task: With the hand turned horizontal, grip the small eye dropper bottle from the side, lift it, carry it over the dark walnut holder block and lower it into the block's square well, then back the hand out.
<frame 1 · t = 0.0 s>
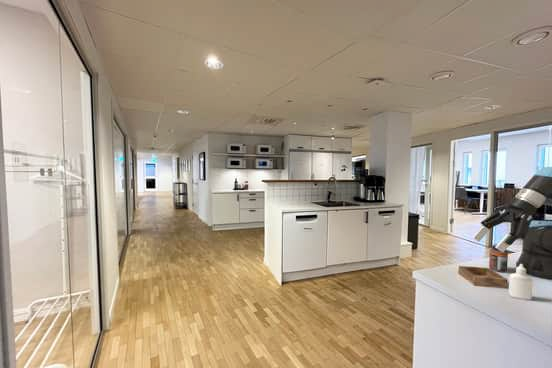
hand: (486, 244, 94), 15 cm above the table, tool tilted 35°, fingers open, 13 cm apart
eye dropper bottle: (519, 297, 83), on the table
holder: (481, 280, 95), on the table
supplement bottle: (497, 270, 105), on the table
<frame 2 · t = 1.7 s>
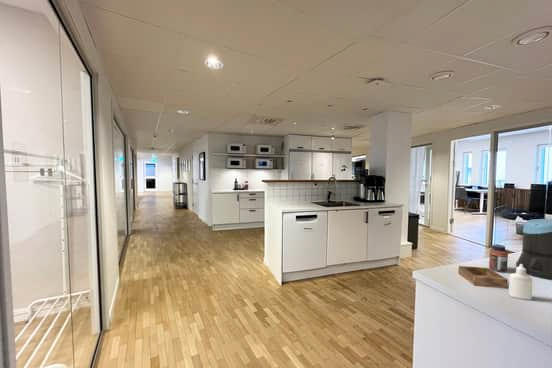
nothing on the table moved.
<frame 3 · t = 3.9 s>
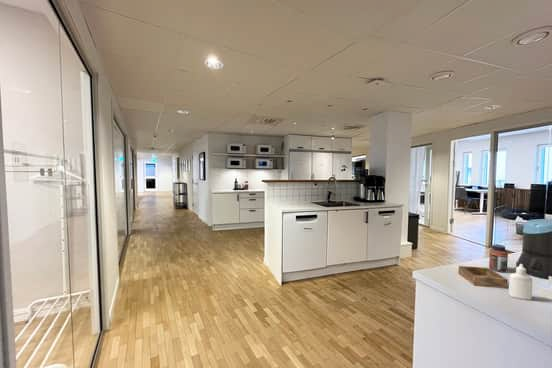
hand: (544, 285, 77), 7 cm above the table, tool horizontal, fingers open, 13 cm apart
nothing on the table moved.
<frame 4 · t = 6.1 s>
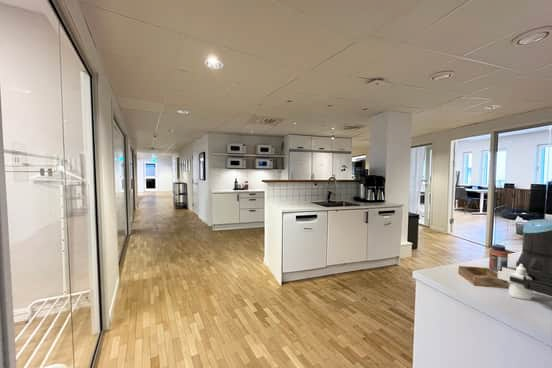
hand: (500, 272, 87), 7 cm above the table, tool horizontal, fingers closed on eye dropper bottle, 4 cm apart
eye dropper bottle: (519, 297, 83), on the table, touching gripper
everything else where it was.
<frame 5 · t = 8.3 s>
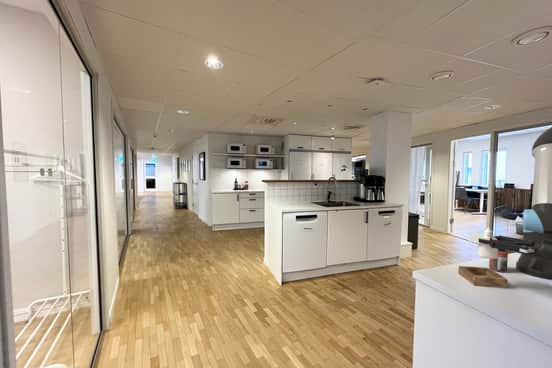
hand: (471, 236, 96), 18 cm above the table, tool horizontal, fingers closed on eye dropper bottle, 4 cm apart
eye dropper bottle: (487, 257, 92), point 10 cm above the table, touching gripper
everything else where it was.
when the fingers open (9 cm above the table, at t = 10.4 s): eye dropper bottle drops 1 cm, resting on holder.
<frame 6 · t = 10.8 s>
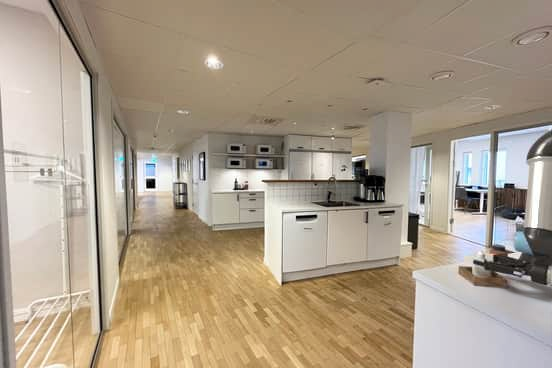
hand: (468, 255, 98), 9 cm above the table, tool horizontal, fingers open, 10 cm apart
eye dropper bottle: (481, 279, 95), resting on holder
everything else where it was.
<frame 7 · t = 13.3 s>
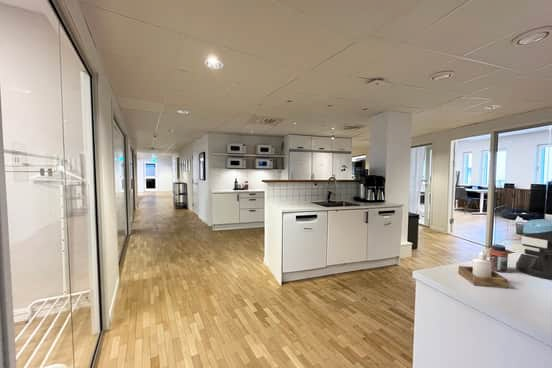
hand: (516, 243, 86), 18 cm above the table, tool horizontal, fingers open, 13 cm apart
nothing on the table moved.
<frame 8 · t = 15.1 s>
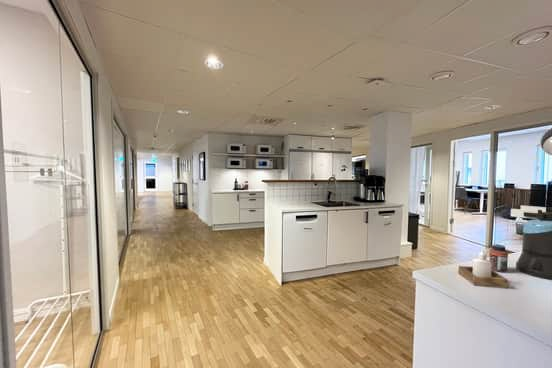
hand: (515, 210, 88), 30 cm above the table, tool horizontal, fingers open, 13 cm apart
nothing on the table moved.
at the end: eye dropper bottle inside the target area on the holder (0.3 cm from its centre), point 0.3 cm above the holder's base; eye dropper bottle tilted 0°; the gripper is holding nothing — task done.
